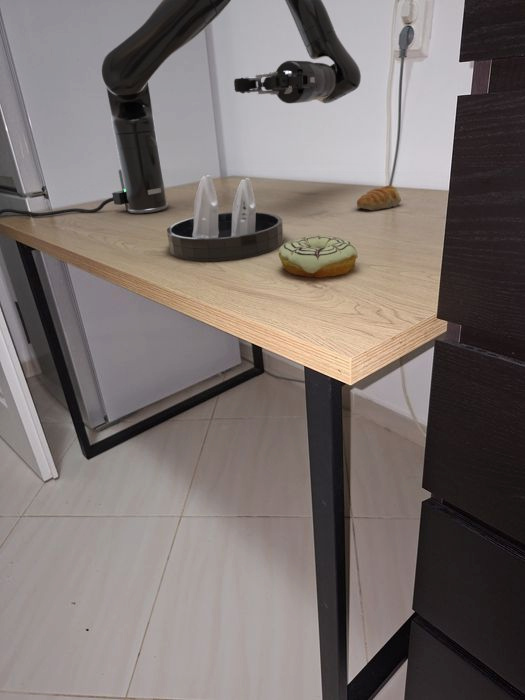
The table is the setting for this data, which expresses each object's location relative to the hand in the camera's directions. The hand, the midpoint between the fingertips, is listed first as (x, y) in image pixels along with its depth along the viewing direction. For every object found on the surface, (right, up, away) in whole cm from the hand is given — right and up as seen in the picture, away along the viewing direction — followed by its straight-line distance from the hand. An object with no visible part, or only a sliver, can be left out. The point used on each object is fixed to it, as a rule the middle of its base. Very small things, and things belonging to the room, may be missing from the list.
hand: (254, 83), depth 90 cm
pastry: (+26, -19, +14) cm, 35 cm away
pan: (-5, -30, -5) cm, 31 cm away
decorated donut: (+9, -37, -20) cm, 43 cm away
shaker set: (-5, -30, -5) cm, 31 cm away
